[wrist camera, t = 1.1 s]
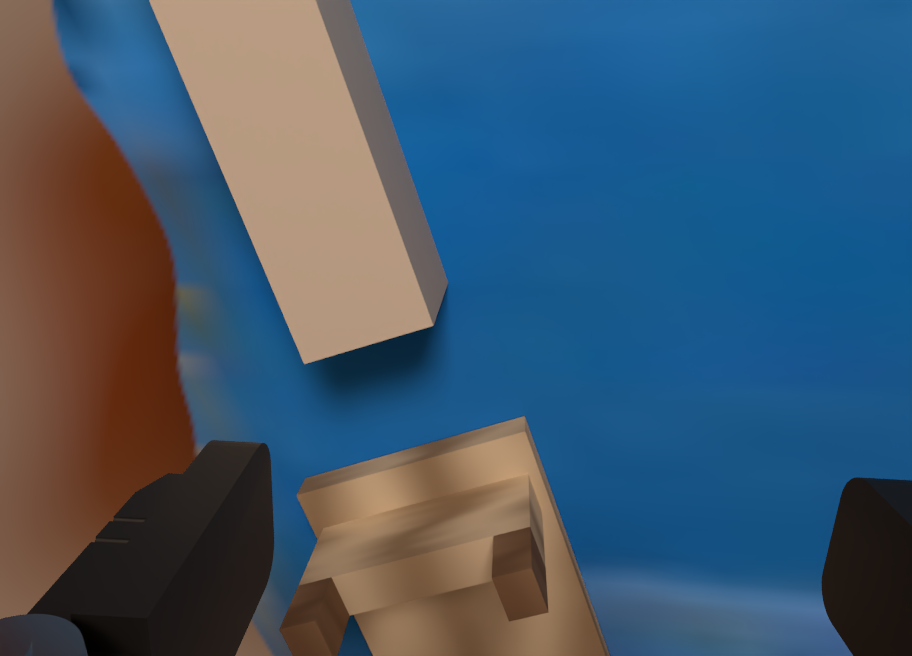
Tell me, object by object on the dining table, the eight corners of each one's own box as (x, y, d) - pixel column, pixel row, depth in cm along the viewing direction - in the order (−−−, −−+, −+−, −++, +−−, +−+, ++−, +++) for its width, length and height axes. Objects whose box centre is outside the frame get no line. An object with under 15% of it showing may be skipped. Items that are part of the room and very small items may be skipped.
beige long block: (287, -183, 25) (221, -260, 20) (448, 281, 30) (433, 326, 25) (165, -128, 26) (69, -187, 21) (342, 313, 31) (304, 364, 26)
